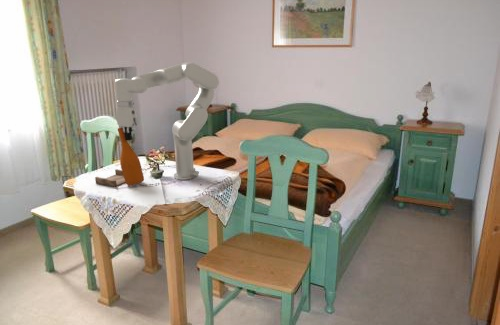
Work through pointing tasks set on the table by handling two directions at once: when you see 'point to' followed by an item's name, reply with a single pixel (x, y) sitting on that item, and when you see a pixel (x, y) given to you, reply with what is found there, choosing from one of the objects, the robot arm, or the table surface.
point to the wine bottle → (129, 162)
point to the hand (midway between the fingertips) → (128, 139)
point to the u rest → (112, 179)
